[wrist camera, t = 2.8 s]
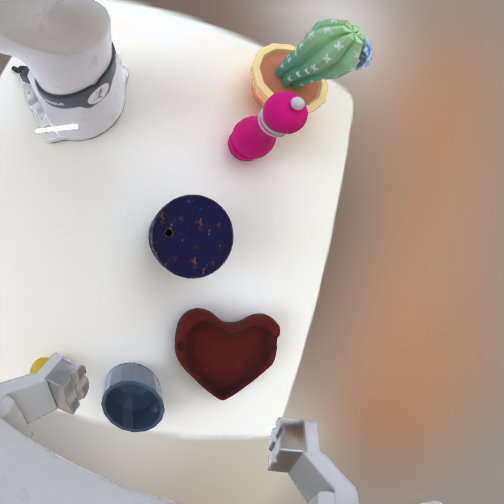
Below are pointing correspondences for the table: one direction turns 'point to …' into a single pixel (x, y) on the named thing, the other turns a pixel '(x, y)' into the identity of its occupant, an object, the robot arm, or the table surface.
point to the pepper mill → (268, 126)
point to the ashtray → (225, 350)
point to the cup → (132, 398)
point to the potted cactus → (310, 62)
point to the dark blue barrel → (191, 236)
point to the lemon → (38, 365)
